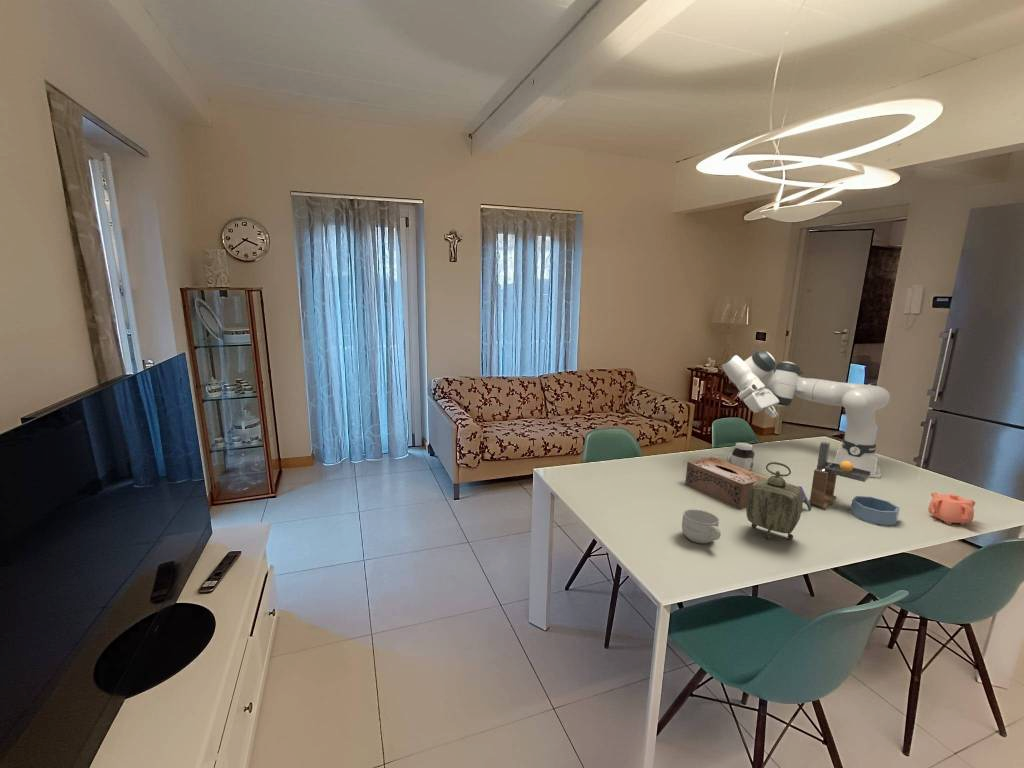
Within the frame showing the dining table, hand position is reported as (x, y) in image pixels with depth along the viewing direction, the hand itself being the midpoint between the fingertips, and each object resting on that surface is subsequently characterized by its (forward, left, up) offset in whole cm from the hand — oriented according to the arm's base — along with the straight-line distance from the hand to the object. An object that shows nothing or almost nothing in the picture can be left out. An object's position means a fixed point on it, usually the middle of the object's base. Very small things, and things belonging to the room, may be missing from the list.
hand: (775, 417), depth 184 cm
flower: (+13, +14, -30) cm, 36 cm away
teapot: (-19, +53, -30) cm, 64 cm away
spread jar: (-13, -17, -30) cm, 36 cm away
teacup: (+63, +3, -30) cm, 70 cm away
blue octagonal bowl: (0, +35, -29) cm, 46 cm away
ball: (0, +25, -13) cm, 29 cm away
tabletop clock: (+43, +16, -30) cm, 55 cm away
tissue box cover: (+20, -9, -30) cm, 37 cm away
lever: (0, +24, -17) cm, 30 cm away
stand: (0, +19, -29) cm, 35 cm away
